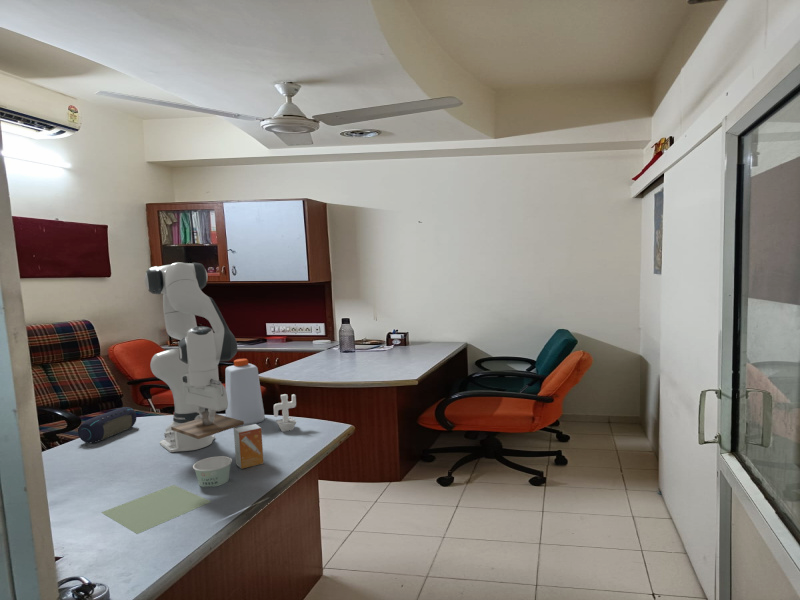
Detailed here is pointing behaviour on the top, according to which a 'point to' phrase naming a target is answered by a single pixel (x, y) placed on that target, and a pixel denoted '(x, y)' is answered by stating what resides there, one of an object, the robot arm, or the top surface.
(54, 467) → the top surface
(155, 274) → the robot arm
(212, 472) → the food container
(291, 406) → the figurine
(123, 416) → the portable speaker
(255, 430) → the small box
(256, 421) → the plastic bottle
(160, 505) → the olive mat
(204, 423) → the walnut lid
